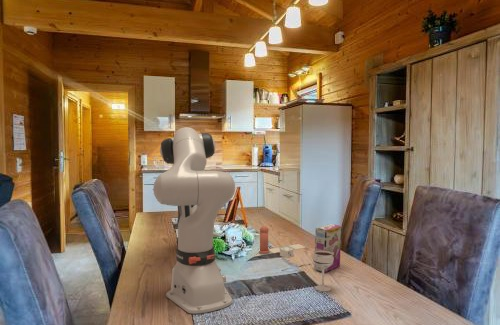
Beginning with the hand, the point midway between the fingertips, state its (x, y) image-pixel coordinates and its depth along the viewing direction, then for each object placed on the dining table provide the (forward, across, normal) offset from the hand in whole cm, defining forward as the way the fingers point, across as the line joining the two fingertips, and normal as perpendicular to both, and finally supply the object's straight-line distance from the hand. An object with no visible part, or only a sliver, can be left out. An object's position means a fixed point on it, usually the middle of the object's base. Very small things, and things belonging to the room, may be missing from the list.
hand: (241, 235), depth 152 cm
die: (+22, +1, +7) cm, 23 cm away
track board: (+14, +5, +6) cm, 17 cm away
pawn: (+12, 0, +6) cm, 13 cm away
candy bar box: (+41, -1, +7) cm, 41 cm away
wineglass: (+46, -19, +7) cm, 50 cm away
